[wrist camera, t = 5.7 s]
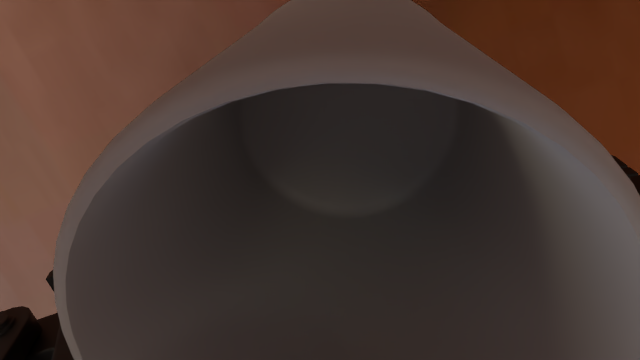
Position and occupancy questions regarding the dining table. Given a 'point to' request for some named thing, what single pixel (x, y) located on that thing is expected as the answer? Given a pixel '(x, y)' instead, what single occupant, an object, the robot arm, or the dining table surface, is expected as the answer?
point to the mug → (351, 208)
